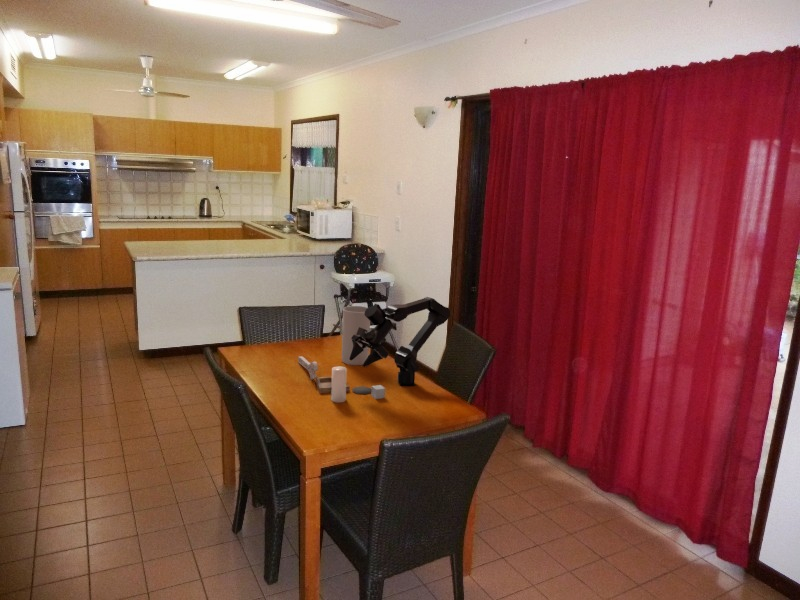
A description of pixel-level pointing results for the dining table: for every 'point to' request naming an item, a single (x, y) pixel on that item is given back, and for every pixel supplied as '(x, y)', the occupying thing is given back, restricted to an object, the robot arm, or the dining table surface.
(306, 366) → the wrench
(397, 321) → the robot arm
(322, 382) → the bay
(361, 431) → the dining table surface
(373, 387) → the block
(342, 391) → the white rounded tapered post
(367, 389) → the coaster
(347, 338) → the cylinder vase
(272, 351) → the dining table surface
